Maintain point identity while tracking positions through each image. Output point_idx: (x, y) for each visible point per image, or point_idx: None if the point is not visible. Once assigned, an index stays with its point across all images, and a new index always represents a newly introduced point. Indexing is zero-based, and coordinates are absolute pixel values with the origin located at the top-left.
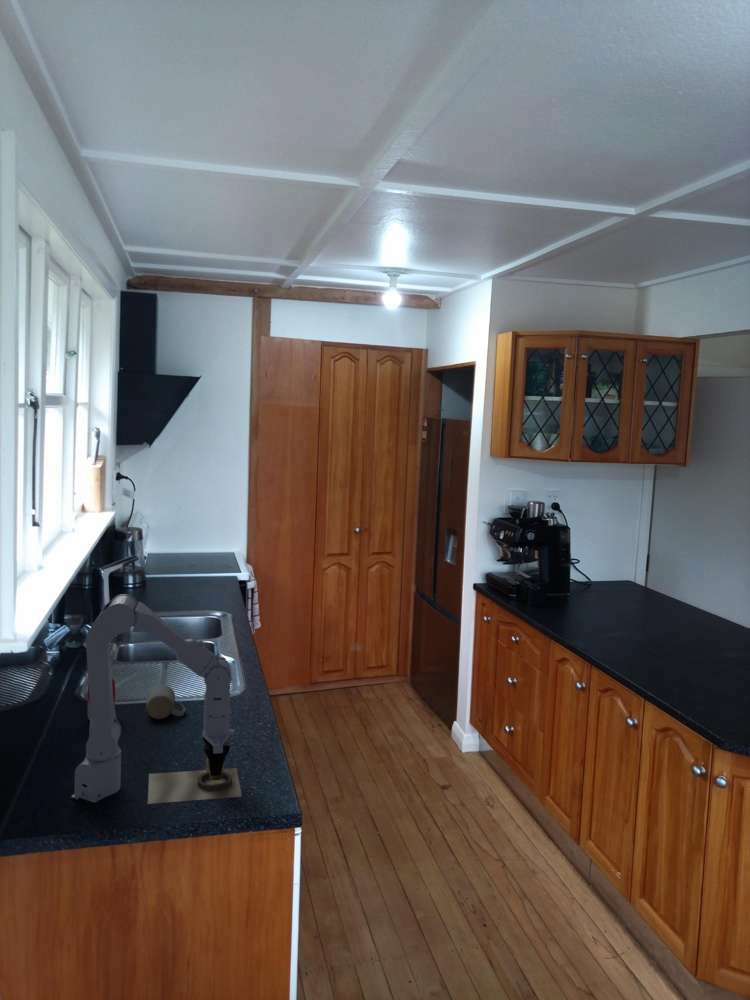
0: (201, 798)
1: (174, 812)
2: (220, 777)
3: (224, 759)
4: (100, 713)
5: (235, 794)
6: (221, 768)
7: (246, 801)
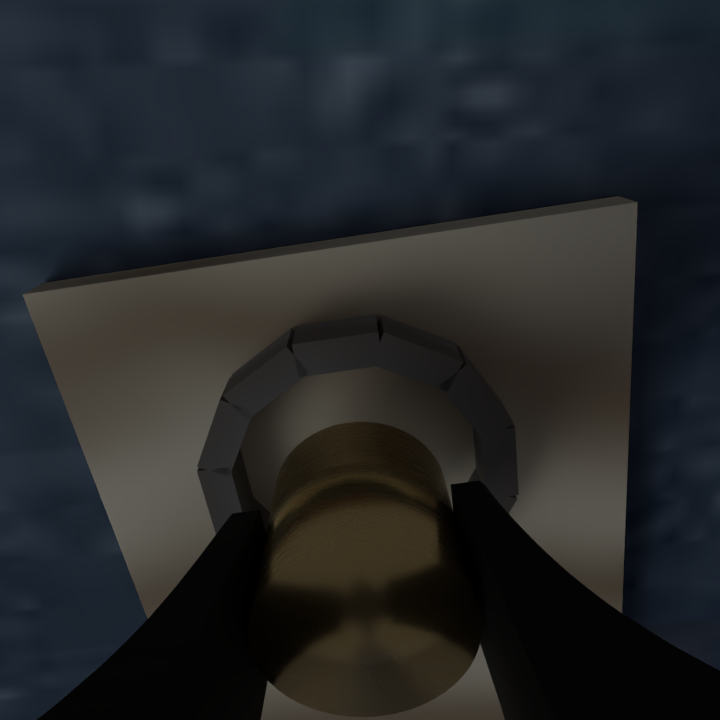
0: (605, 522)
1: (686, 628)
2: (428, 455)
3: (603, 600)
4: None
5: (585, 267)
6: (514, 525)
7: (635, 148)
